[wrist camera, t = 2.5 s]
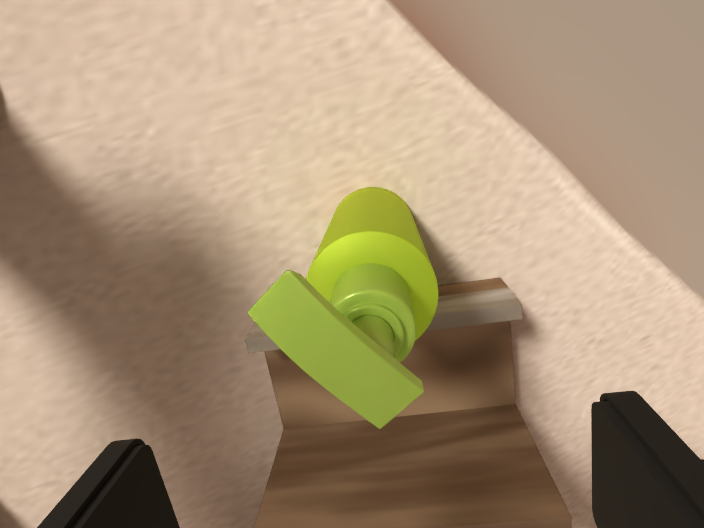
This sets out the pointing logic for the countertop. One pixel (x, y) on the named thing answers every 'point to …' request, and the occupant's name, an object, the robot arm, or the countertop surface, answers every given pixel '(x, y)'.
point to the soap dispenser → (358, 306)
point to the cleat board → (416, 435)
